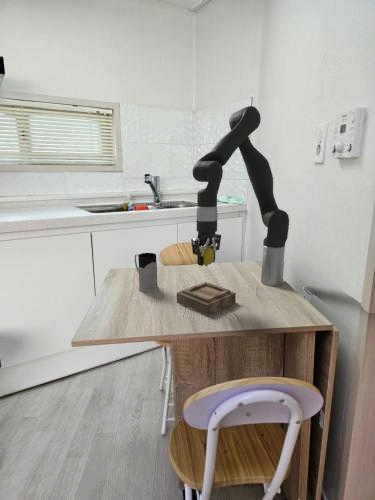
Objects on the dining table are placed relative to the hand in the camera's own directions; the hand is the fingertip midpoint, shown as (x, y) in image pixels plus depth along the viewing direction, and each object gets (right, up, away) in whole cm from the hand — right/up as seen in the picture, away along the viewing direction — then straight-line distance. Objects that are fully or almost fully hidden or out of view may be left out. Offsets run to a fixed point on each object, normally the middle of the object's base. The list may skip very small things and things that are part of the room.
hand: (206, 263), depth 116 cm
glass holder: (-26, -11, +20) cm, 35 cm away
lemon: (0, -1, 0) cm, 1 cm away
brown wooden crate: (0, -15, +4) cm, 16 cm away
